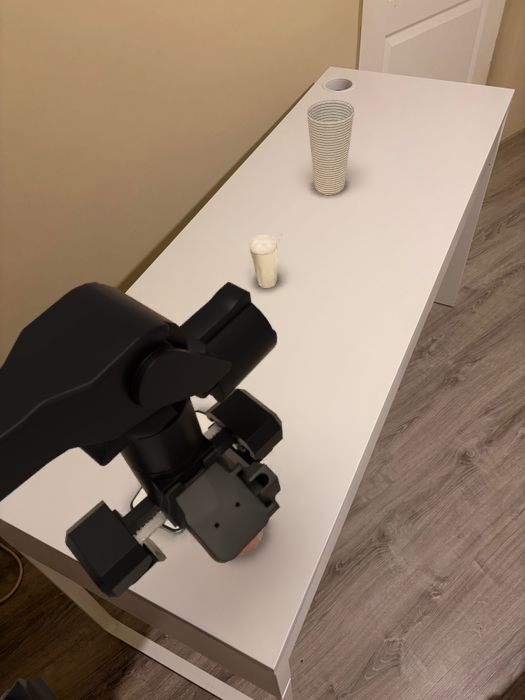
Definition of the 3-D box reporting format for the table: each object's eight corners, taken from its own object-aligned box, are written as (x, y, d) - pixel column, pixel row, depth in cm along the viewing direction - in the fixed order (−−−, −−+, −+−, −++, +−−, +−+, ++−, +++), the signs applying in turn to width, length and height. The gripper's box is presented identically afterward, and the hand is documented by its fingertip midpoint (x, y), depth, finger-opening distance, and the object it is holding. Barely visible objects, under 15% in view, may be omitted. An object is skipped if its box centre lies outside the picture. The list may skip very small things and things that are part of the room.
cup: (345, 172, 104) (348, 96, 92) (354, 195, 98) (359, 118, 86) (305, 178, 104) (303, 103, 92) (312, 201, 98) (311, 125, 86)
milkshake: (285, 290, 83) (281, 243, 76) (253, 291, 84) (247, 245, 76) (285, 272, 86) (281, 224, 78) (254, 273, 87) (248, 226, 79)
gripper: (116, 634, 27) (177, 673, 39) (334, 416, 35) (329, 504, 47) (21, 501, 33) (100, 571, 45) (227, 338, 40) (247, 435, 52)
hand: (200, 519), depth 47 cm, fingers open, 9 cm apart
